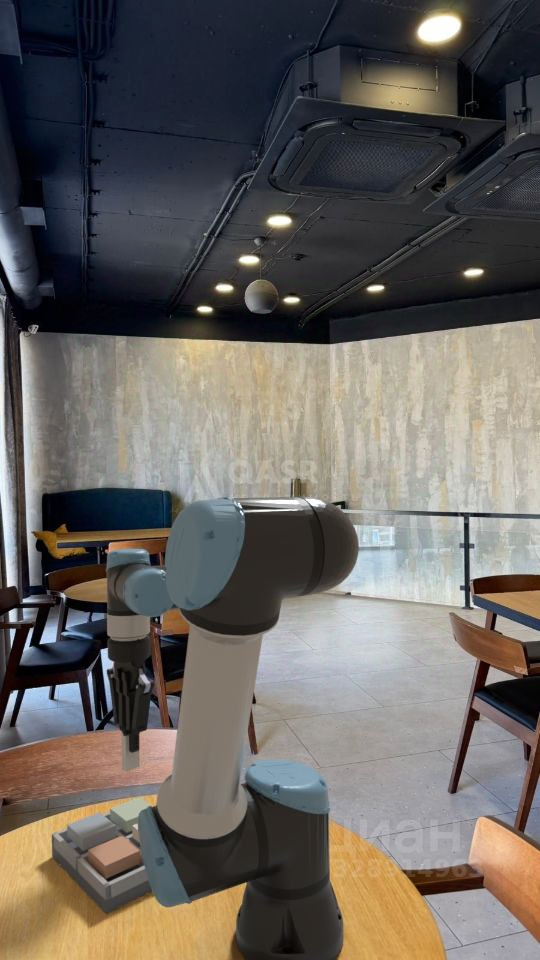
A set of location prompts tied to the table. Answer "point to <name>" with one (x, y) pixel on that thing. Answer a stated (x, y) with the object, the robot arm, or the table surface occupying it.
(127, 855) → the key terracotta
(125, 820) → the key sage
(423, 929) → the table surface
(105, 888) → the keypad base
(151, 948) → the table surface
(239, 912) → the robot arm
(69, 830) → the key slate
